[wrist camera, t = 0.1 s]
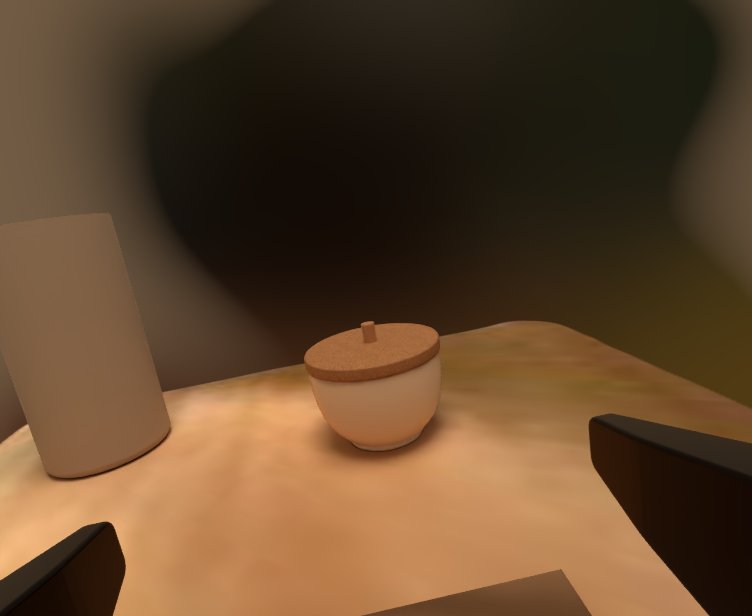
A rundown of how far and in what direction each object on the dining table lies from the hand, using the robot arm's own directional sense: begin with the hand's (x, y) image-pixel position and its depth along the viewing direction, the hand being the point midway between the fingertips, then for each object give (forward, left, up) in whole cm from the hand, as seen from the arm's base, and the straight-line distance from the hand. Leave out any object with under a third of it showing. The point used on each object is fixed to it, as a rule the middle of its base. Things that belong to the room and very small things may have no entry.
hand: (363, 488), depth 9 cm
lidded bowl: (+34, -2, -17) cm, 38 cm away
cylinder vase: (+43, +28, -17) cm, 54 cm away
